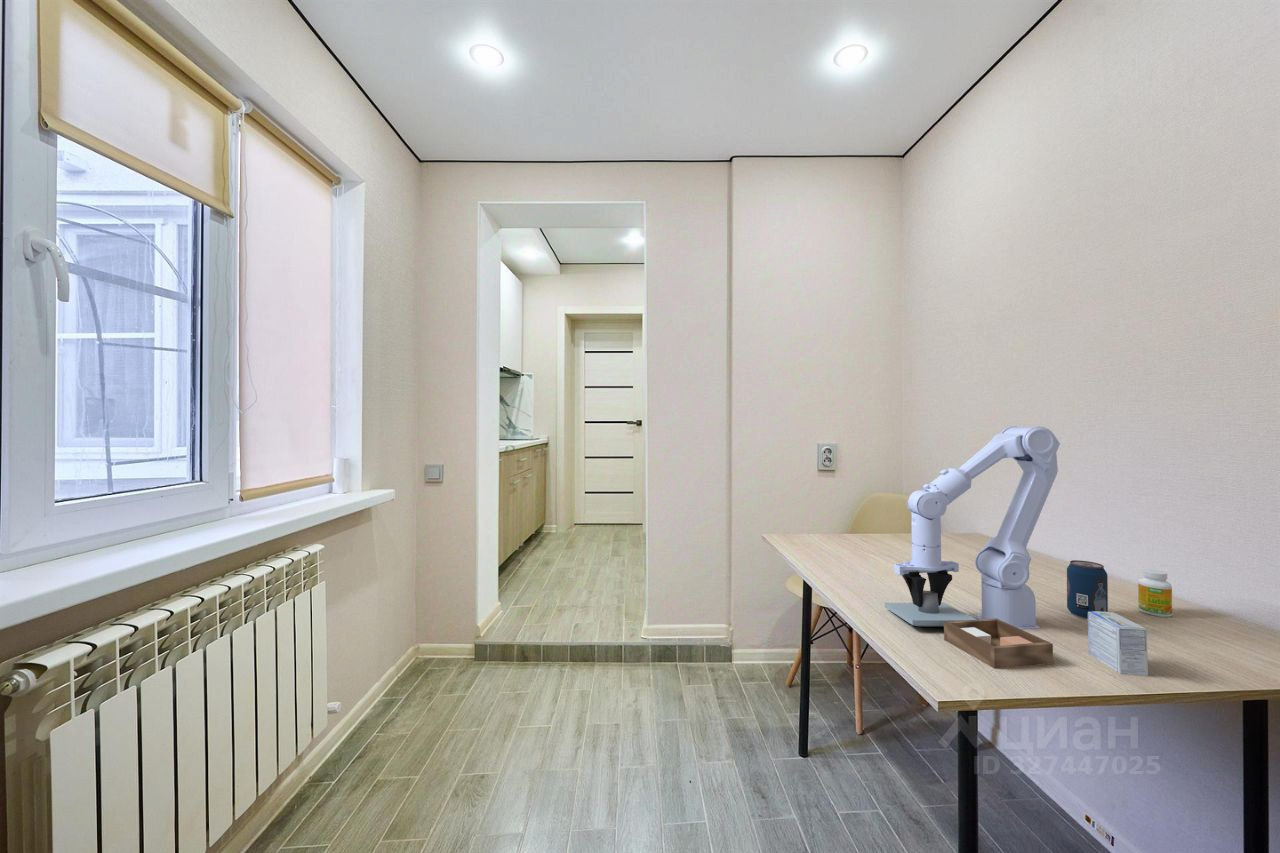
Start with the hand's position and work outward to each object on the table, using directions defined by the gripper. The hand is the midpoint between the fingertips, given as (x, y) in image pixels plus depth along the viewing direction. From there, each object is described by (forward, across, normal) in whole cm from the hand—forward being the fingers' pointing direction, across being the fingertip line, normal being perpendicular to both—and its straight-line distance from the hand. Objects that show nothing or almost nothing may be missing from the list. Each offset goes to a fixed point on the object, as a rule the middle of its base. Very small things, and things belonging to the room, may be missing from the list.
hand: (926, 604), depth 110 cm
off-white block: (+3, 0, +14) cm, 14 cm away
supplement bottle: (+4, -55, +4) cm, 55 cm away
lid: (+2, 0, +1) cm, 2 cm away
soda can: (+4, -38, +3) cm, 38 cm away
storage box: (+4, -2, +16) cm, 17 cm away
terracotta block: (+3, -4, +18) cm, 19 cm away
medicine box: (+4, -19, +24) cm, 31 cm away
